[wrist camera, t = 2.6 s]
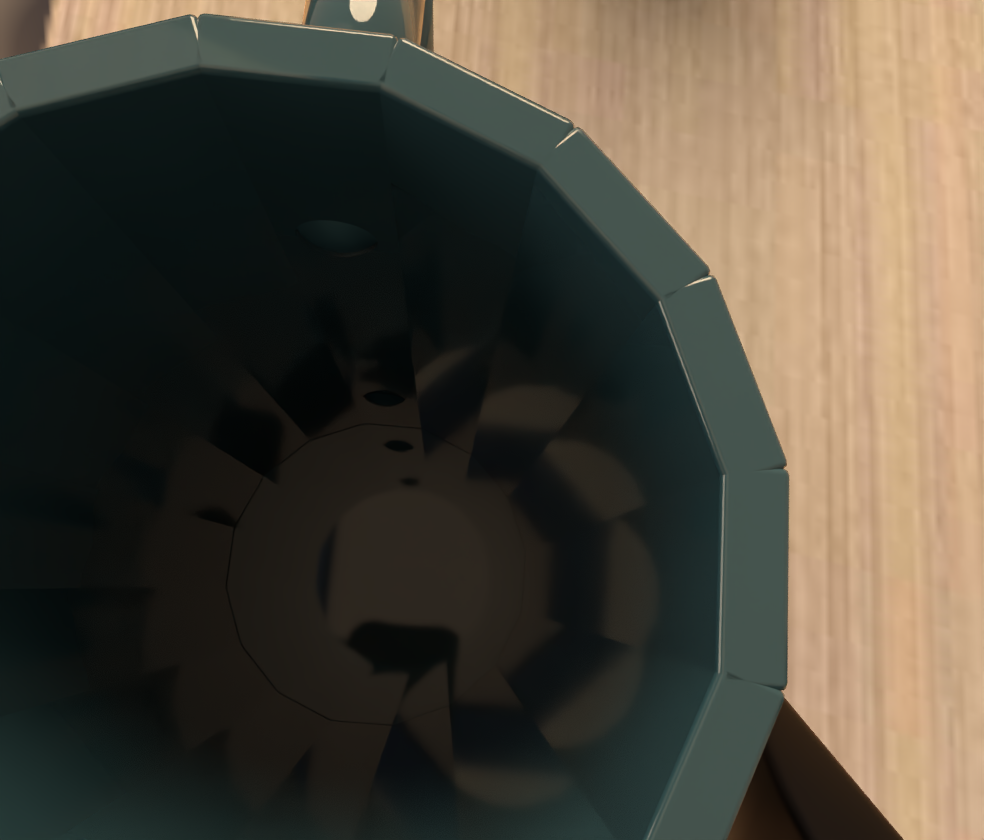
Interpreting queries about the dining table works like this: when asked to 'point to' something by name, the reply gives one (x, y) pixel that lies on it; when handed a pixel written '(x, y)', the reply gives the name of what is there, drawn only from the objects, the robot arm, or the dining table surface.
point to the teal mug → (363, 457)
